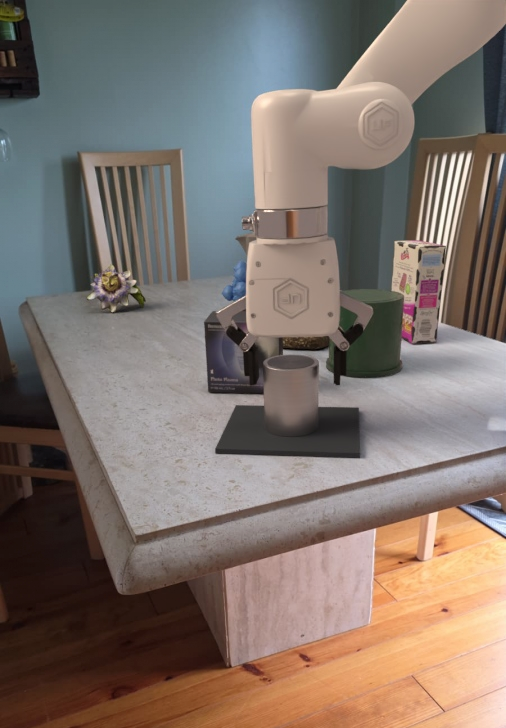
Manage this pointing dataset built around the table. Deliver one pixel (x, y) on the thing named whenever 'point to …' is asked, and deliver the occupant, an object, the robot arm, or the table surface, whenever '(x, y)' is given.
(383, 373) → the green flanged canister
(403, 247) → the candy bar box
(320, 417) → the mat
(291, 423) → the steel cup
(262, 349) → the small box
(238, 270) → the grapes
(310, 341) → the bread roll
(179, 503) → the table surface
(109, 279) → the passion flower
